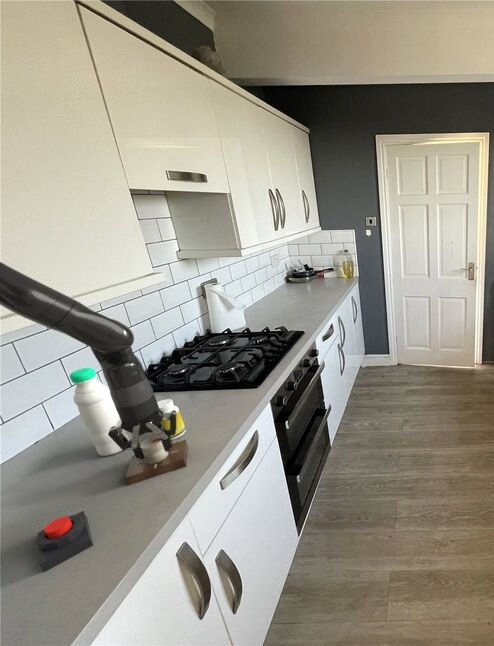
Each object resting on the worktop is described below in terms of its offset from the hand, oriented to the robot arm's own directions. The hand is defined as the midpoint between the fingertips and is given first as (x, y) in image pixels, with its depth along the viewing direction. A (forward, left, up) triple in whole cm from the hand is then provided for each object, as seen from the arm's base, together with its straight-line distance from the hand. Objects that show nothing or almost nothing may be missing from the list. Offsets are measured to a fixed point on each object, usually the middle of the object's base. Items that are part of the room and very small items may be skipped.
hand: (155, 452), depth 91 cm
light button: (-14, -17, 0) cm, 22 cm away
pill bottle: (+2, +13, -4) cm, 14 cm away
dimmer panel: (0, 0, -4) cm, 4 cm away
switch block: (-14, -17, -4) cm, 22 cm away
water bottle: (-12, +15, -4) cm, 20 cm away
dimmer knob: (0, 0, -1) cm, 1 cm away
